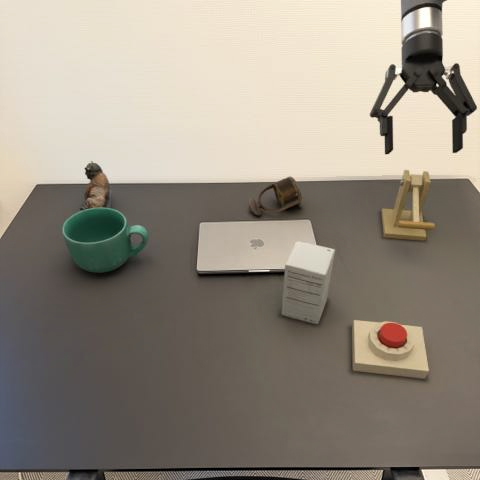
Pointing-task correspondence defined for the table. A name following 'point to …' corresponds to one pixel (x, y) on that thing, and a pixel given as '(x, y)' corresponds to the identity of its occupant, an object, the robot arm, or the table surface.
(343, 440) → the table surface
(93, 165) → the brown figurine
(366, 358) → the button base
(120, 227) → the mug
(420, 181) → the lever
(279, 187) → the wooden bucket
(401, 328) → the button
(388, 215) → the wooden lever device
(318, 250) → the white packaging box
